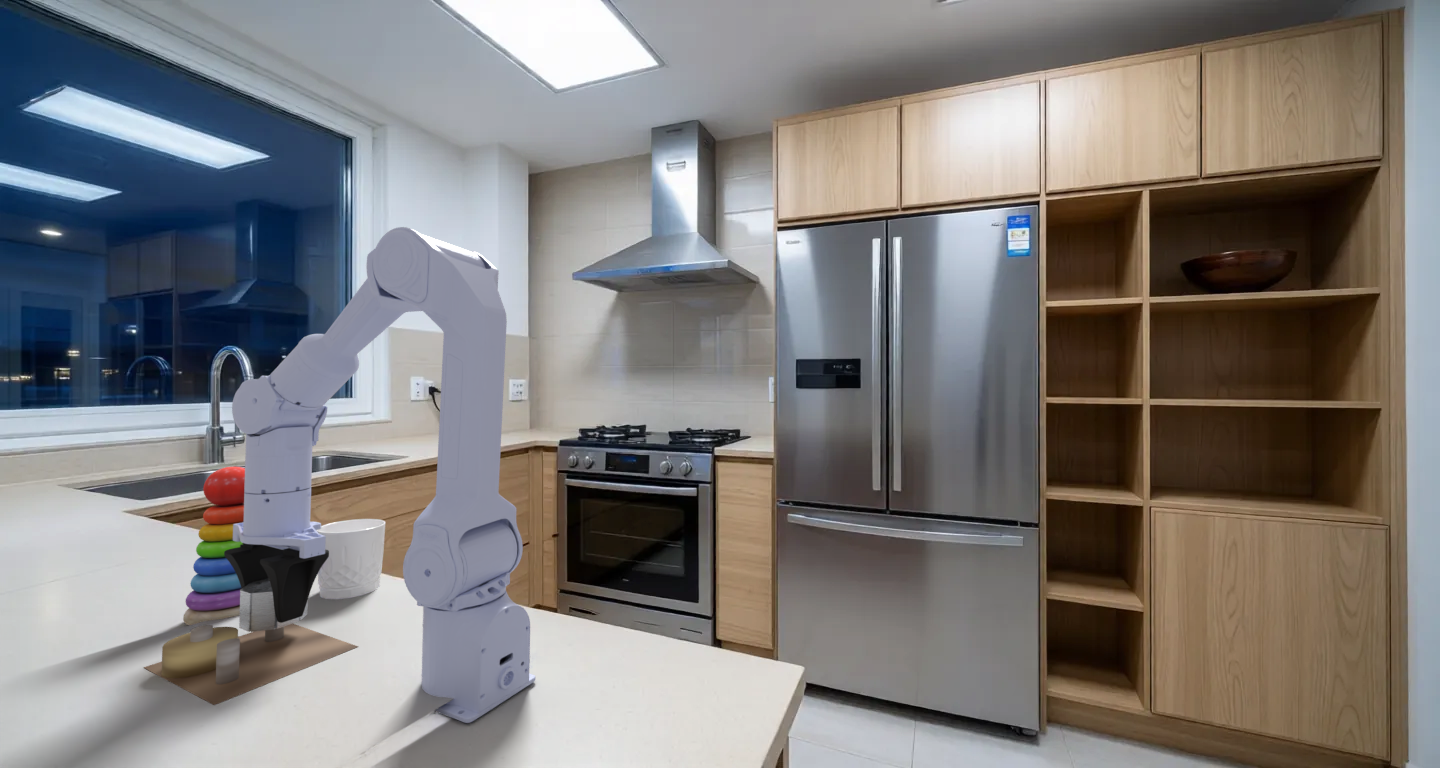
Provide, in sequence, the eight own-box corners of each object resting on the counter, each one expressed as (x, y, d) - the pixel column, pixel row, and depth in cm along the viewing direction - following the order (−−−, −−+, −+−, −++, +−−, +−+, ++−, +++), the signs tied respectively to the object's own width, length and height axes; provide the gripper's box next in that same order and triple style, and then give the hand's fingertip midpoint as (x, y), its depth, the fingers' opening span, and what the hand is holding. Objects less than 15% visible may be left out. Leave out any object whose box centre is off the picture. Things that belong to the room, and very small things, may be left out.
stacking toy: (285, 606, 70) (289, 463, 71) (223, 632, 63) (228, 472, 63) (231, 603, 71) (236, 462, 72) (163, 629, 63) (169, 470, 64)
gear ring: (316, 615, 60) (316, 579, 60) (257, 635, 55) (258, 596, 55) (289, 607, 62) (290, 572, 62) (231, 625, 57) (232, 587, 57)
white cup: (302, 602, 72) (303, 528, 72) (364, 584, 79) (365, 516, 79) (333, 614, 68) (335, 535, 68) (396, 594, 75) (397, 522, 75)
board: (358, 657, 57) (359, 613, 57) (213, 718, 46) (215, 663, 46) (285, 631, 63) (286, 591, 63) (143, 679, 52) (144, 631, 52)
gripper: (356, 489, 59) (353, 612, 59) (284, 479, 66) (281, 590, 65) (282, 500, 53) (278, 638, 53) (210, 488, 59) (206, 611, 59)
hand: (275, 613), depth 59 cm, fingers closed on gear ring, 5 cm apart
